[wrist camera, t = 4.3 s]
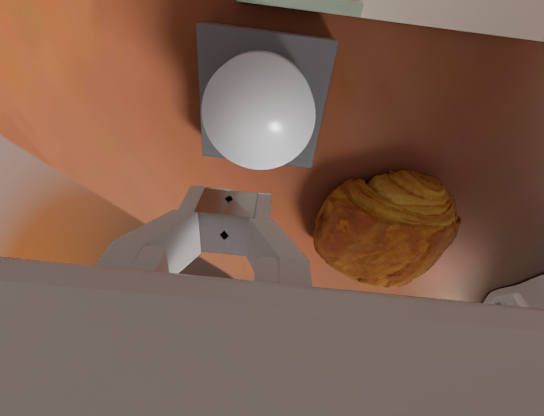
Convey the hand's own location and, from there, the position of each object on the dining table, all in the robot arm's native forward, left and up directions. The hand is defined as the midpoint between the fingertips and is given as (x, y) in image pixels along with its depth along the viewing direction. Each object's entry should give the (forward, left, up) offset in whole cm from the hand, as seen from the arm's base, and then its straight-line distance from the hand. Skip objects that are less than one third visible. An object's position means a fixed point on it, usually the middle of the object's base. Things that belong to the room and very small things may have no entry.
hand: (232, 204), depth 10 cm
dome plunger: (0, 0, -14) cm, 14 cm away
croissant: (-12, -14, -17) cm, 25 cm away
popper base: (0, 0, -17) cm, 17 cm away
